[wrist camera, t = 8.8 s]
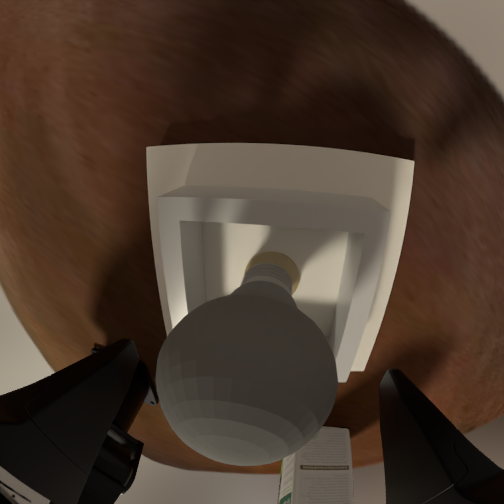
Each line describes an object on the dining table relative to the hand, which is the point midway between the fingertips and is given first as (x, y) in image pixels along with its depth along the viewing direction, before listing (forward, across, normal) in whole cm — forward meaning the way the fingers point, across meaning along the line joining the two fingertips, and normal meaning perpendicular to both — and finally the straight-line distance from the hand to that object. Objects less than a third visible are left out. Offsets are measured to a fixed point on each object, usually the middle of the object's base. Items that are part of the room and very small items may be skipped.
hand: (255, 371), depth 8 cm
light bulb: (+7, 0, 0) cm, 7 cm away
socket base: (+8, 0, 0) cm, 9 cm away
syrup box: (+9, -6, +20) cm, 23 cm away
